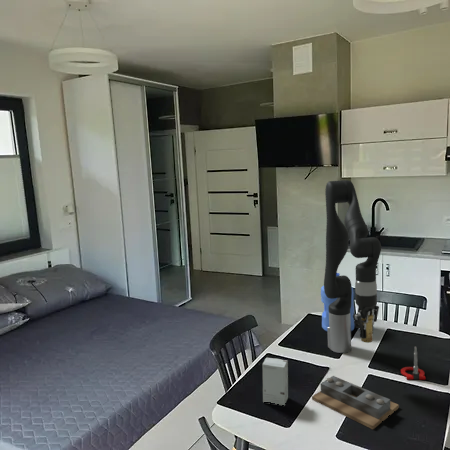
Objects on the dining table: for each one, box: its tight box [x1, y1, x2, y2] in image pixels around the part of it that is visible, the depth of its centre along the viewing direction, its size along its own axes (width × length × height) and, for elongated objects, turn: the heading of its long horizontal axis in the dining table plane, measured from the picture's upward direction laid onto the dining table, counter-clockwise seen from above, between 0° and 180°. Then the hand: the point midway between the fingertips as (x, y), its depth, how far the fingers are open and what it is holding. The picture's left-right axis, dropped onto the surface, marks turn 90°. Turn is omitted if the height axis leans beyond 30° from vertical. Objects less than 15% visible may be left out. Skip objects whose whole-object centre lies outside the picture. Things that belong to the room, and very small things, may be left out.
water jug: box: [320, 272, 355, 332], centre depth 207 cm, size 16×16×28 cm
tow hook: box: [400, 346, 426, 381], centre depth 162 cm, size 8×13×9 cm
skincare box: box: [262, 357, 289, 407], centre depth 151 cm, size 8×6×15 cm
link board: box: [311, 375, 400, 430], centre depth 146 cm, size 24×16×5 cm, turn 40°
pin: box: [360, 315, 373, 344], centre depth 155 cm, size 5×5×10 cm
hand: (366, 335), depth 156 cm, fingers closed on pin, 4 cm apart
